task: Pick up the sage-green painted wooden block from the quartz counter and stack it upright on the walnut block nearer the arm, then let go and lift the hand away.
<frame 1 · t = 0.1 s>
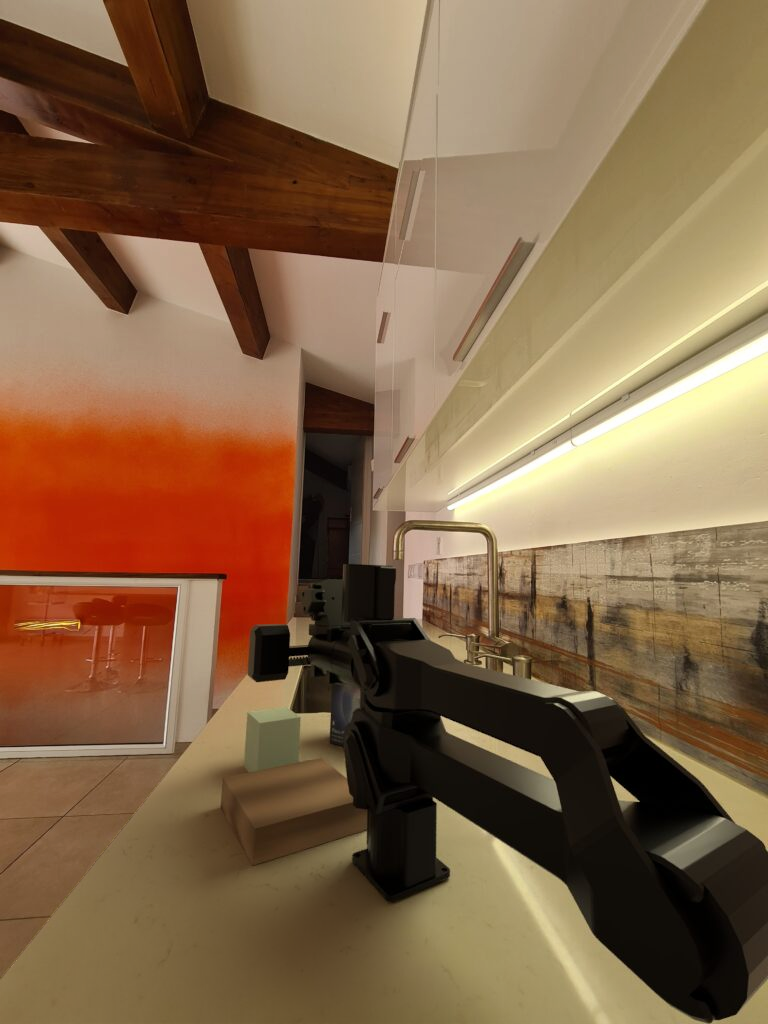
hand: (300, 640, 64), 17 cm above the countertop, tool horizontal, fingers open, 9 cm apart
small box: (366, 746, 70), on the countertop
walnut block: (292, 817, 48), on the countertop
sage block: (270, 770, 60), on the countertop
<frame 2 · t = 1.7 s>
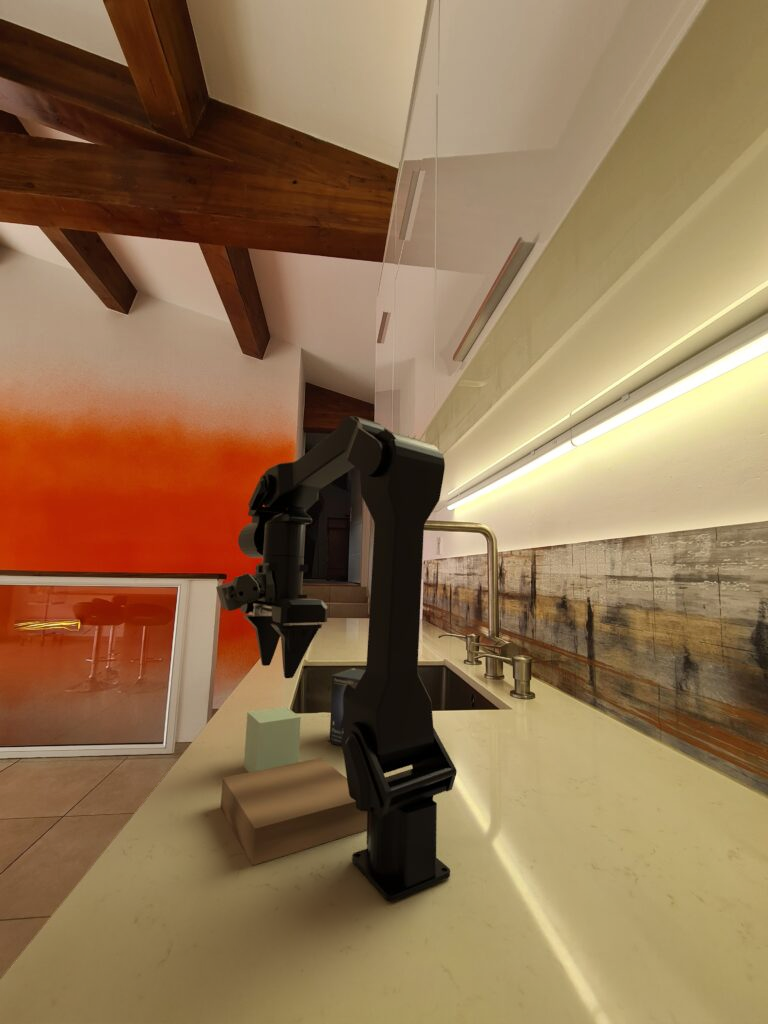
hand: (276, 671, 62), 13 cm above the countertop, tool pointing down, fingers open, 9 cm apart
nothing on the countertop moved.
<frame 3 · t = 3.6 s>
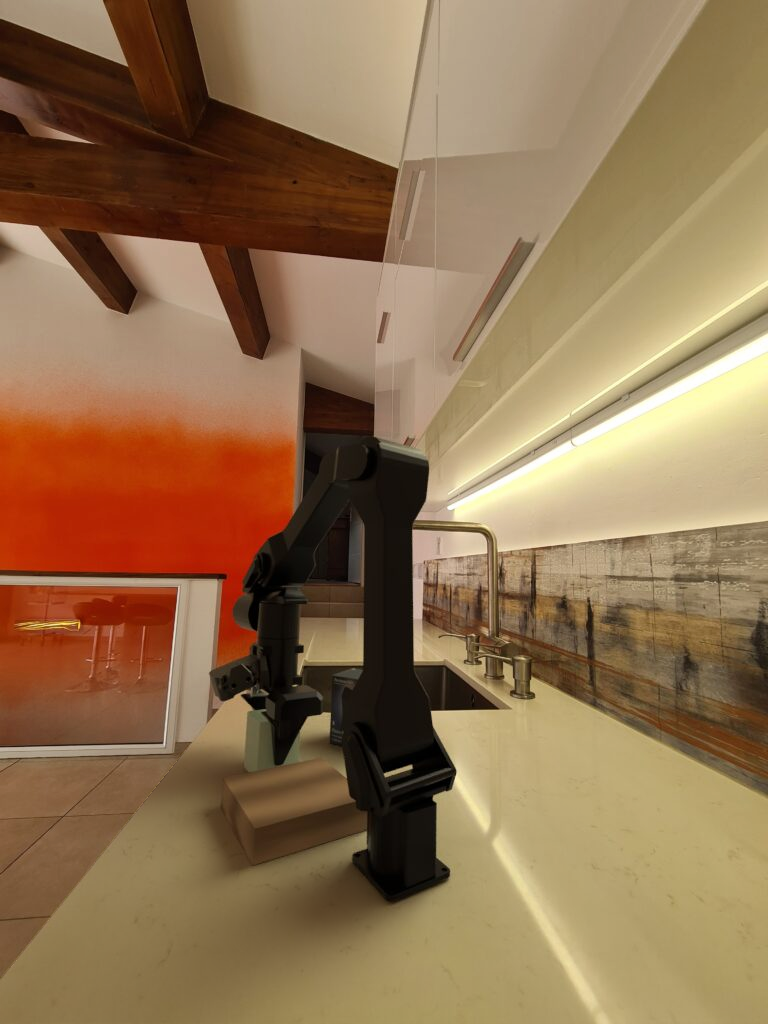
hand: (271, 757, 60), 2 cm above the countertop, tool pointing down, fingers closed on sage block, 5 cm apart
sage block: (270, 769, 60), on the countertop, touching gripper
everything else where it was.
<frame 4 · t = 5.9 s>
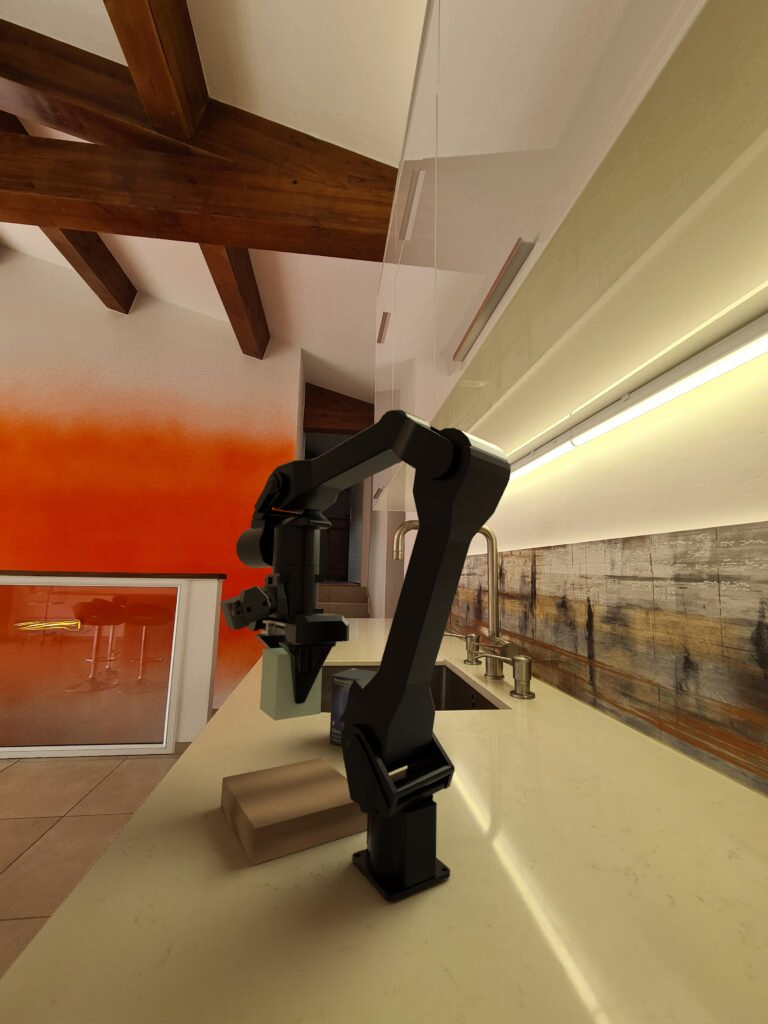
hand: (290, 697, 54), 11 cm above the countertop, tool pointing down, fingers closed on sage block, 5 cm apart
sage block: (289, 711, 54), point 10 cm above the countertop, touching gripper
everything else where it was.
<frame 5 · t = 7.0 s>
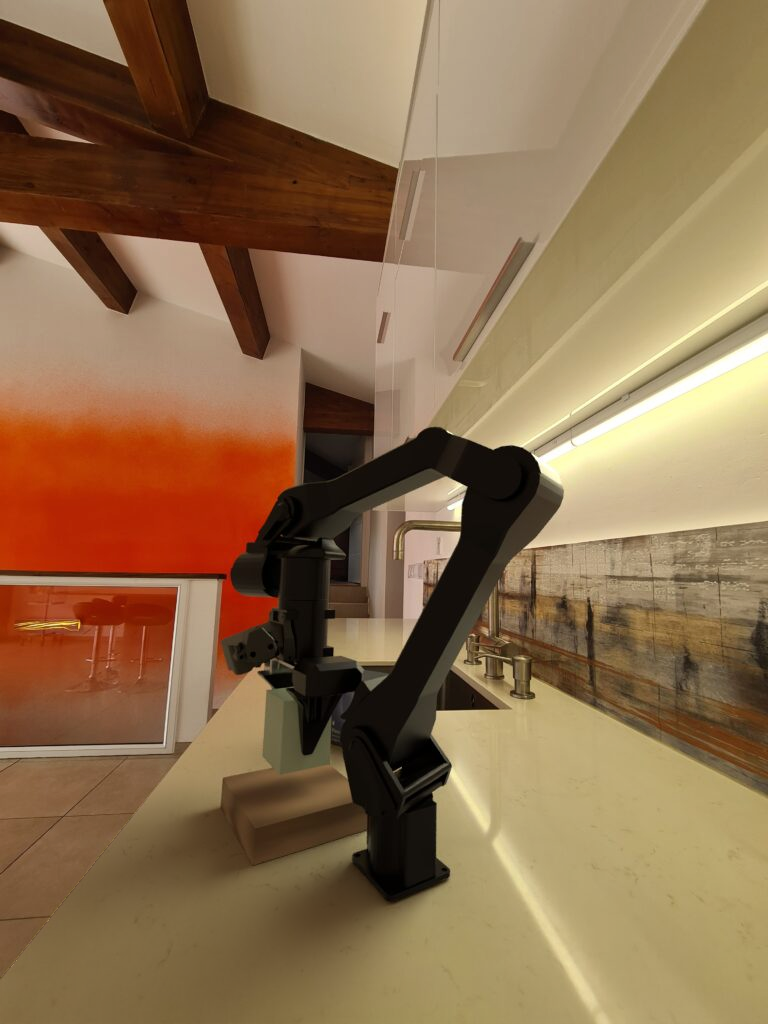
hand: (296, 745, 49), 7 cm above the countertop, tool pointing down, fingers closed on sage block, 5 cm apart
sage block: (295, 760, 49), point 6 cm above the countertop, touching gripper
everything else where it was.
when the fingers open (6 cm above the countertop, at t = 8.1 s): sage block drops 1 cm, resting on walnut block.
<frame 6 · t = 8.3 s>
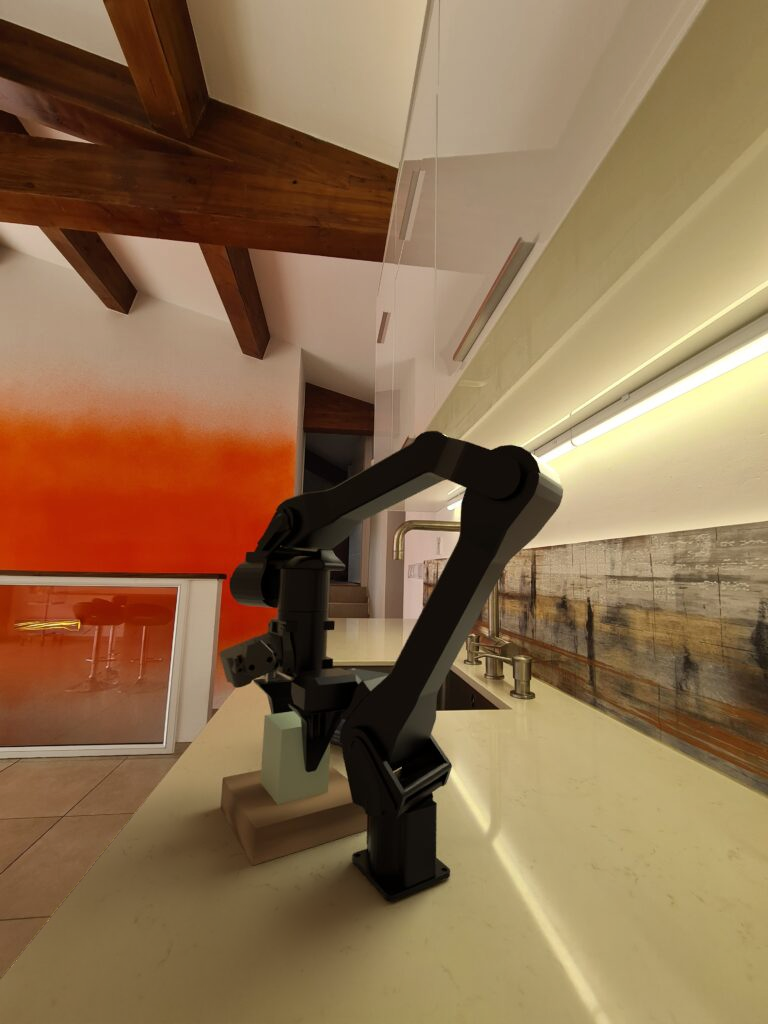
hand: (295, 757, 49), 6 cm above the countertop, tool pointing down, fingers open, 8 cm apart
sage block: (293, 787, 49), point 3 cm above the countertop, touching walnut block
everything else where it was.
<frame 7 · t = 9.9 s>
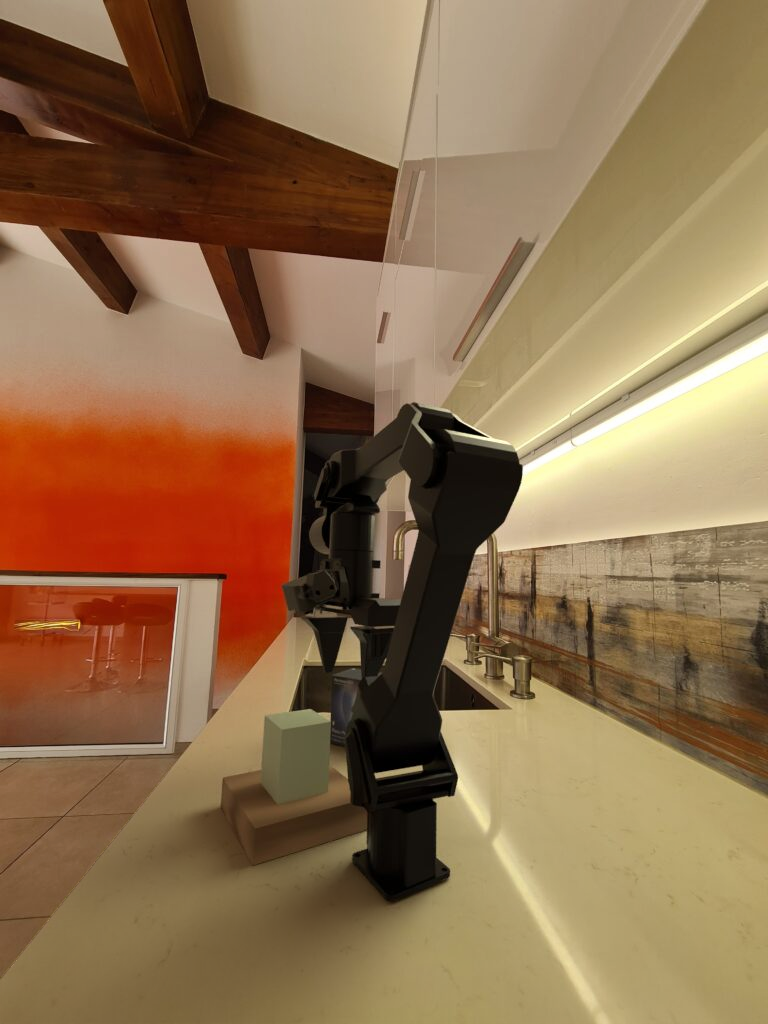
hand: (346, 679, 55), 13 cm above the countertop, tool pointing down, fingers open, 9 cm apart
nothing on the countertop moved.
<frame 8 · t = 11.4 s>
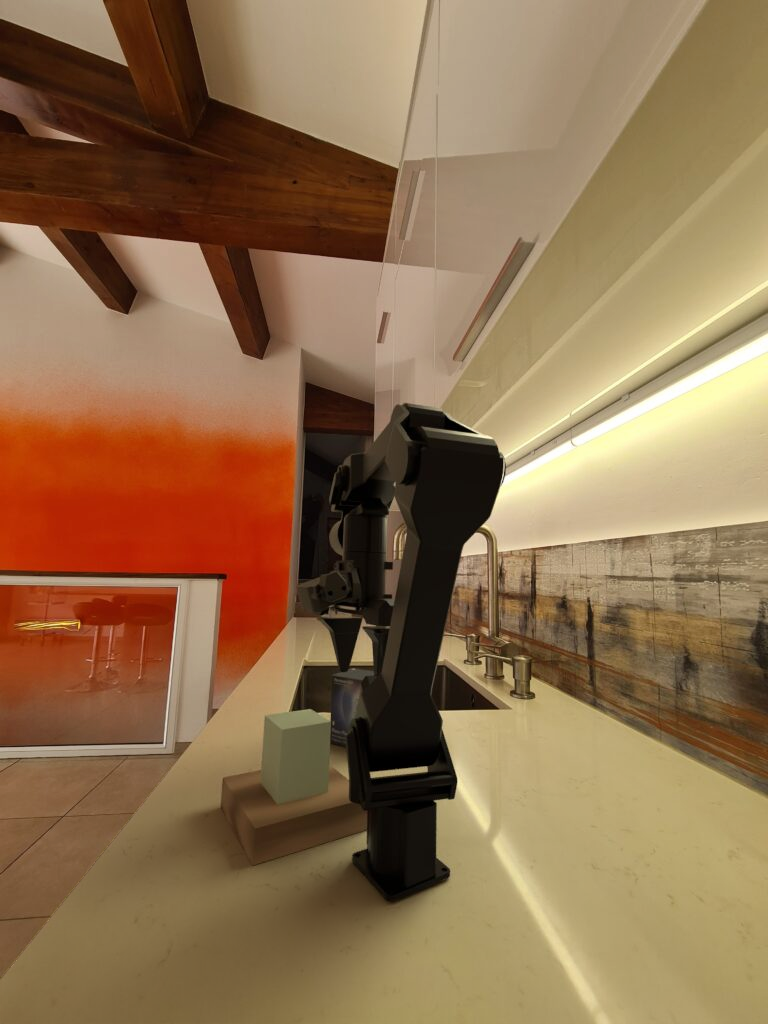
hand: (360, 678, 56), 13 cm above the countertop, tool pointing down, fingers open, 9 cm apart
nothing on the countertop moved.
at the end: sage block inside the target area on the walnut block (0.1 cm from its centre), point 3.0 cm above the walnut block's base; sage block tilted 0°; the gripper is holding nothing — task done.
